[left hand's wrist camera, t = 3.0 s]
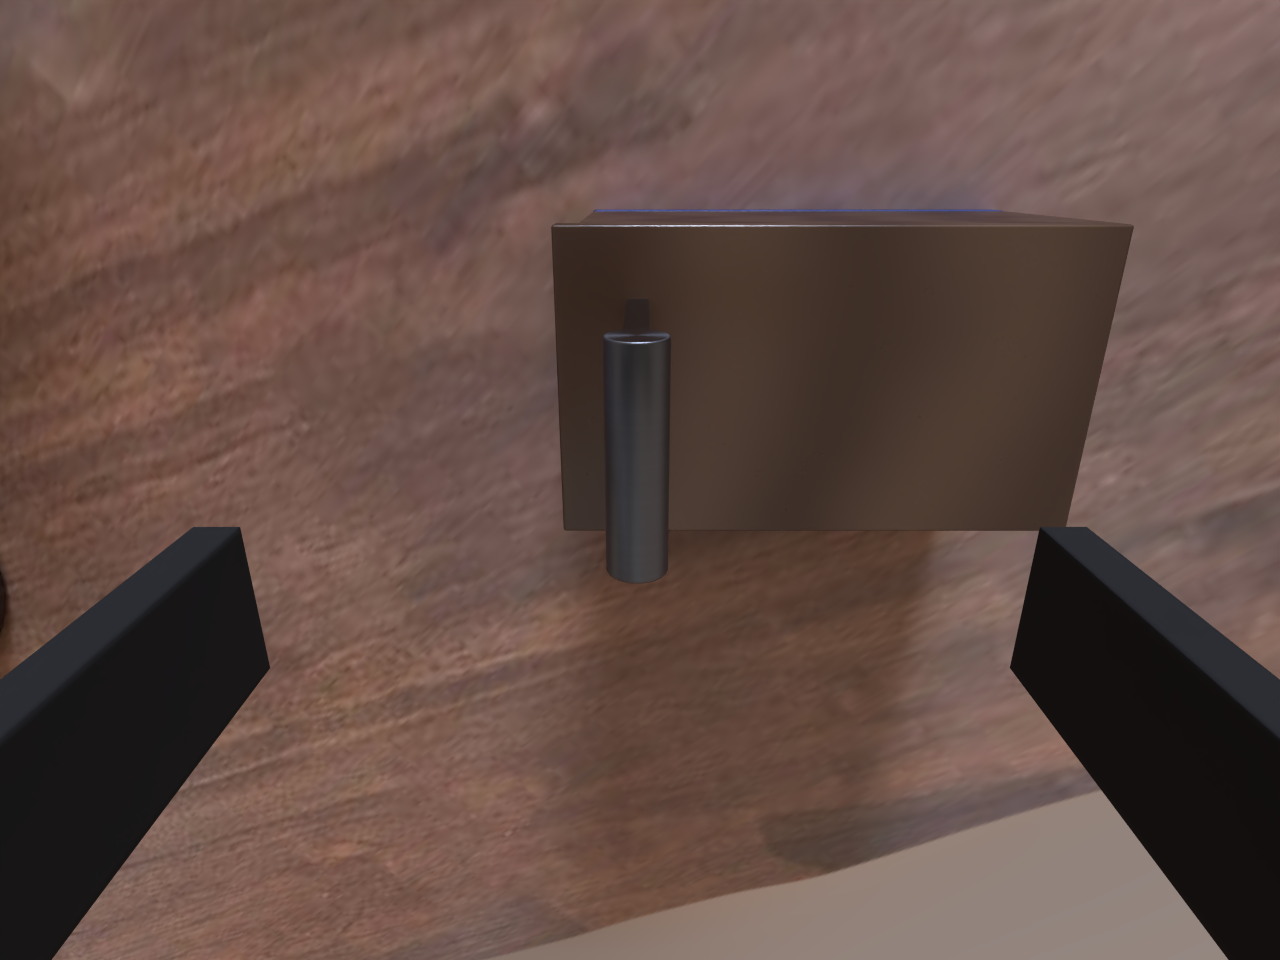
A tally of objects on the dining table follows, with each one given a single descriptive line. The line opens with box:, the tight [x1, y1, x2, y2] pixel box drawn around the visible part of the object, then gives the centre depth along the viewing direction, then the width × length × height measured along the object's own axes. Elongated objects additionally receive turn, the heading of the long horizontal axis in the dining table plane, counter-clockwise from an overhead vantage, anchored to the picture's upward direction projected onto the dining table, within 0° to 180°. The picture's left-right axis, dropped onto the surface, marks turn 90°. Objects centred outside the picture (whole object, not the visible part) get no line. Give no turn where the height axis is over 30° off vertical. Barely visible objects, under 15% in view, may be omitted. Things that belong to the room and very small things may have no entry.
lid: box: [551, 223, 1134, 583], centre depth 22 cm, size 18×10×8 cm, turn 90°
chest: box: [580, 210, 1112, 223], centre depth 31 cm, size 17×10×9 cm, turn 90°
